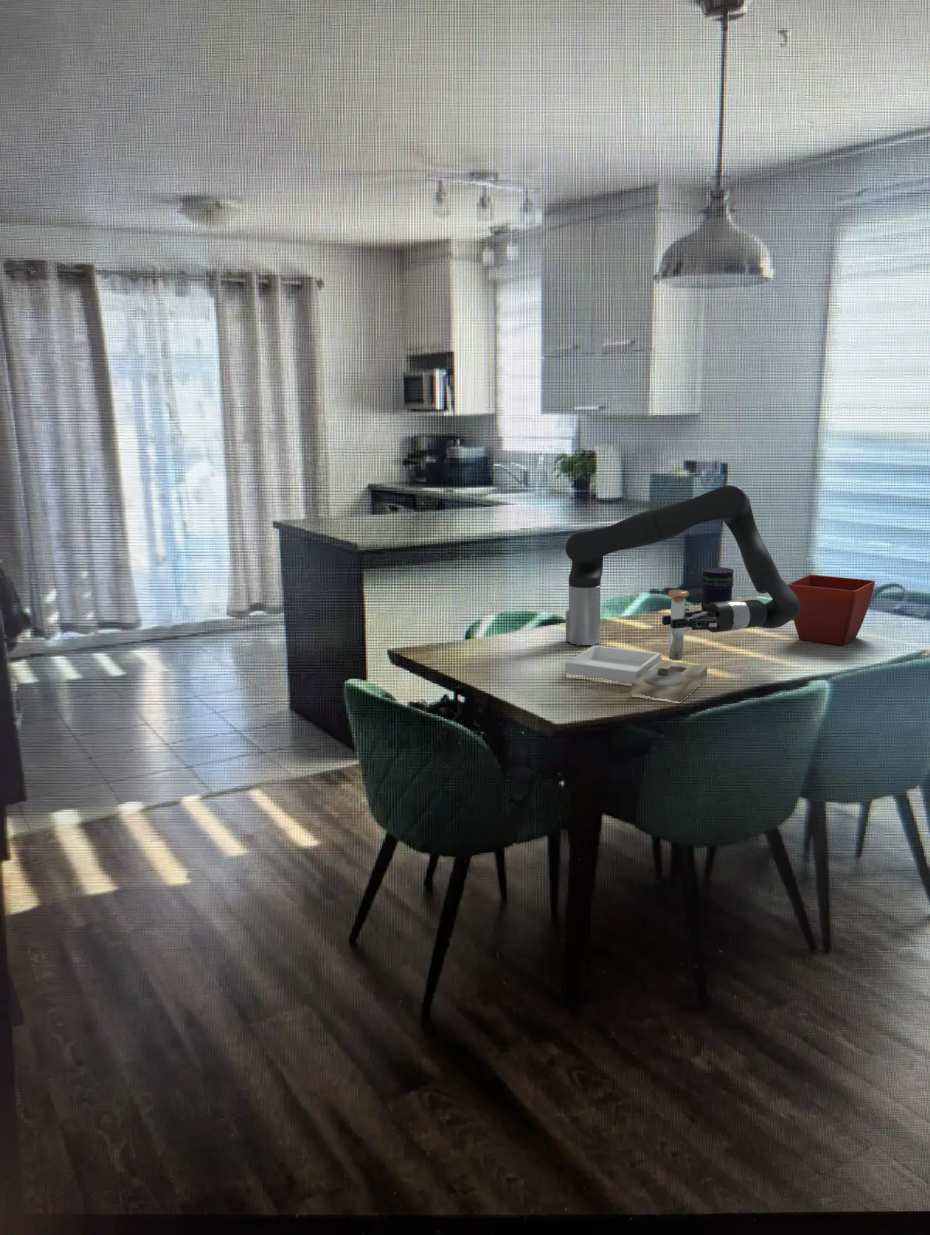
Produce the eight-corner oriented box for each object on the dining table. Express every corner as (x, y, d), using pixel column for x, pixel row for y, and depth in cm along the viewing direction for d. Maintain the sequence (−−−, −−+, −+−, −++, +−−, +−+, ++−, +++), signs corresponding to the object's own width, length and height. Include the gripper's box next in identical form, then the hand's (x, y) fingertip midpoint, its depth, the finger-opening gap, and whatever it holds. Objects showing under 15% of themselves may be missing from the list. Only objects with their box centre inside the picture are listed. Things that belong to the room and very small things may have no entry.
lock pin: (663, 659, 227) (666, 592, 223) (669, 654, 231) (672, 589, 227) (682, 662, 225) (685, 594, 221) (687, 657, 229) (691, 590, 225)
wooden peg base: (631, 697, 219) (631, 671, 218) (660, 673, 237) (661, 649, 236) (680, 704, 213) (681, 678, 212) (706, 679, 231) (707, 655, 230)
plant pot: (806, 627, 281) (810, 573, 277) (871, 636, 269) (876, 580, 265) (783, 640, 266) (786, 583, 263) (851, 650, 255) (855, 591, 251)
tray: (565, 677, 235) (565, 662, 234) (593, 659, 251) (594, 645, 250) (636, 687, 226) (636, 672, 225) (660, 668, 242) (661, 653, 241)
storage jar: (694, 613, 303) (696, 568, 299) (720, 610, 305) (722, 566, 302) (711, 619, 293) (713, 573, 290) (738, 616, 296) (740, 571, 293)
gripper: (711, 596, 236) (652, 601, 230) (744, 607, 223) (683, 613, 218) (709, 624, 238) (651, 630, 232) (742, 637, 225) (682, 644, 219)
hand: (667, 622), depth 225 cm, fingers closed on lock pin, 3 cm apart
